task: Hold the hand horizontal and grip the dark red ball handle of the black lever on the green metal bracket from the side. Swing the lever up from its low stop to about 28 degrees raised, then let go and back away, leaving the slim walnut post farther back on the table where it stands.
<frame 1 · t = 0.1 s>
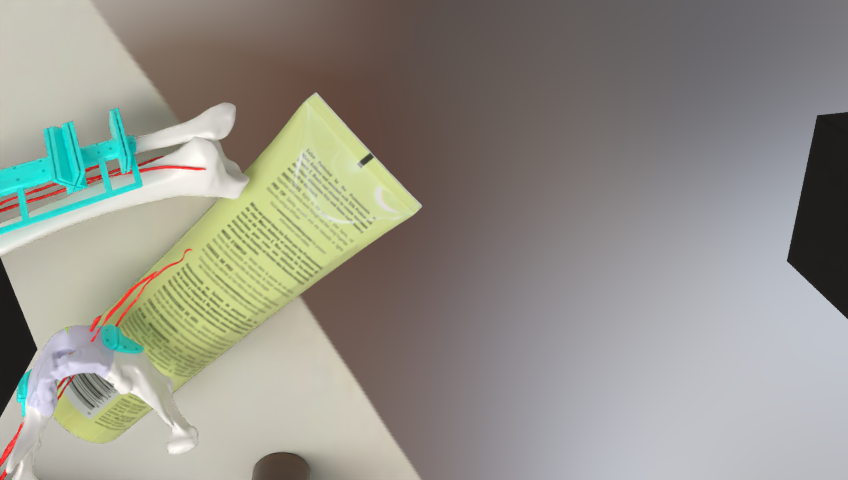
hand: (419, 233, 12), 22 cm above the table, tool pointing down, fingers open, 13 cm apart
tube: (81, 409, 37), point 3 cm above the table, touching bone model
bone model: (25, 308, 36), point 1 cm above the table, touching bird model, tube
walnut post: (281, 473, 45), on the table
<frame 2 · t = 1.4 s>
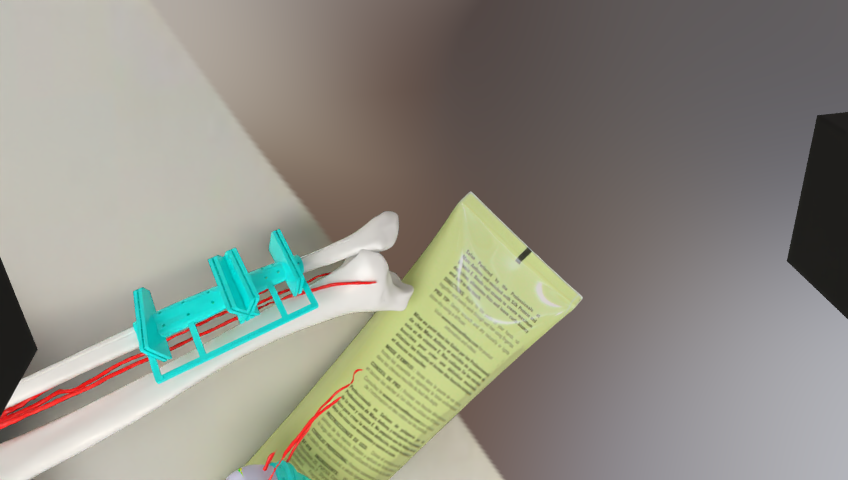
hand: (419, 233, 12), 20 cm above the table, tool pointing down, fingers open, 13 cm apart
bone model: (174, 452, 34), point 1 cm above the table, touching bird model, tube
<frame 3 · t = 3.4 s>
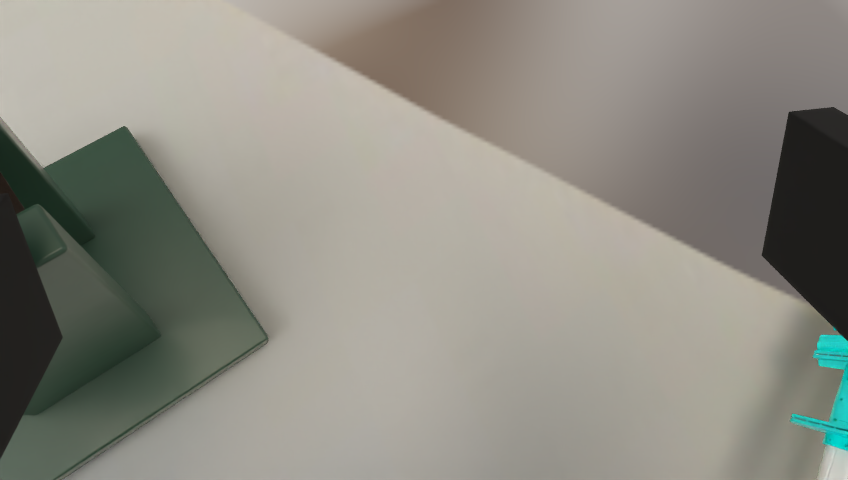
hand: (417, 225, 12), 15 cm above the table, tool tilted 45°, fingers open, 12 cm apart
bracket: (67, 316, 25), on the table
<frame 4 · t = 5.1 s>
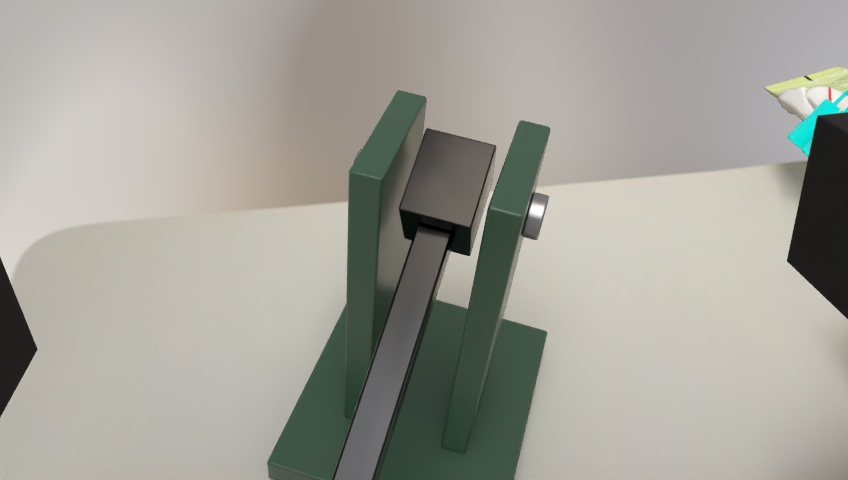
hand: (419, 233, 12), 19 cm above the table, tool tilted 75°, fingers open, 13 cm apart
bracket: (417, 406, 31), on the table
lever: (391, 369, 21), point 10 cm above the table, hinge at -25.0°
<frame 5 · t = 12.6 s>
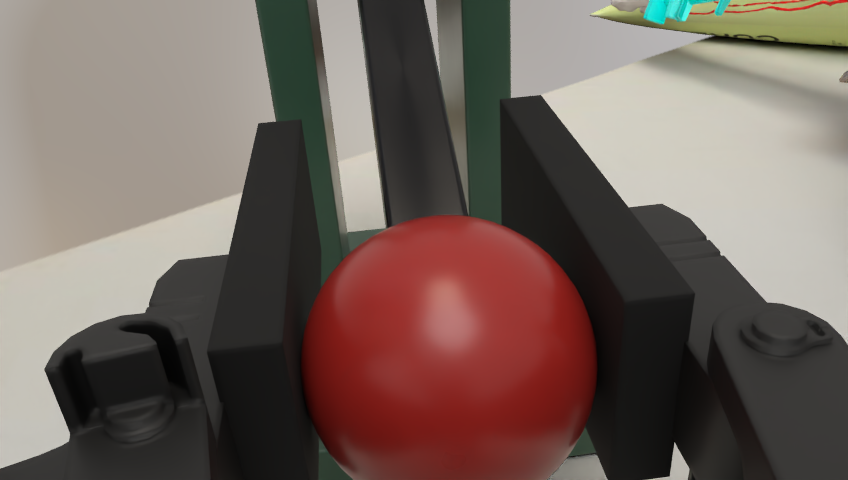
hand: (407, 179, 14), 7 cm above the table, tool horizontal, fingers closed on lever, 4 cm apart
bracket: (411, 344, 21), on the table
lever: (400, 70, 12), point 10 cm above the table, hinge at -25.0°, touching gripper
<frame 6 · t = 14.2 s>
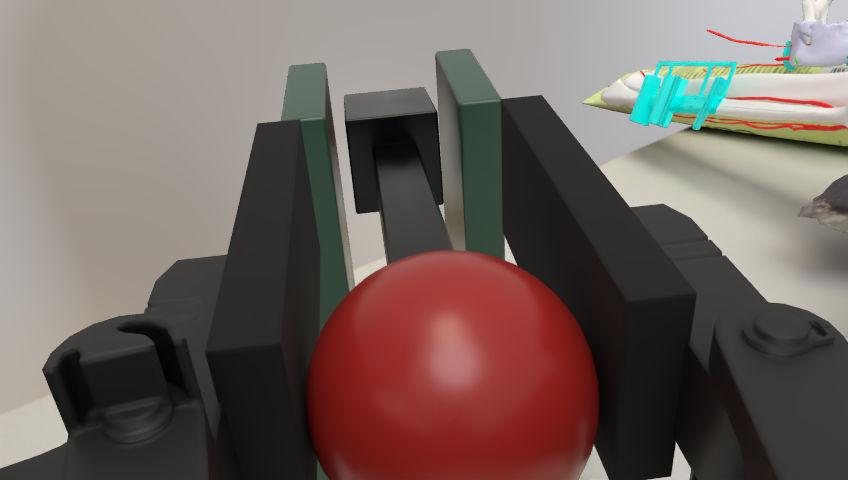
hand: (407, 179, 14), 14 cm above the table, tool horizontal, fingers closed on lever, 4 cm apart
bracket: (422, 476, 25), on the table
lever: (412, 231, 14), point 13 cm above the table, hinge at 6.0°, touching gripper
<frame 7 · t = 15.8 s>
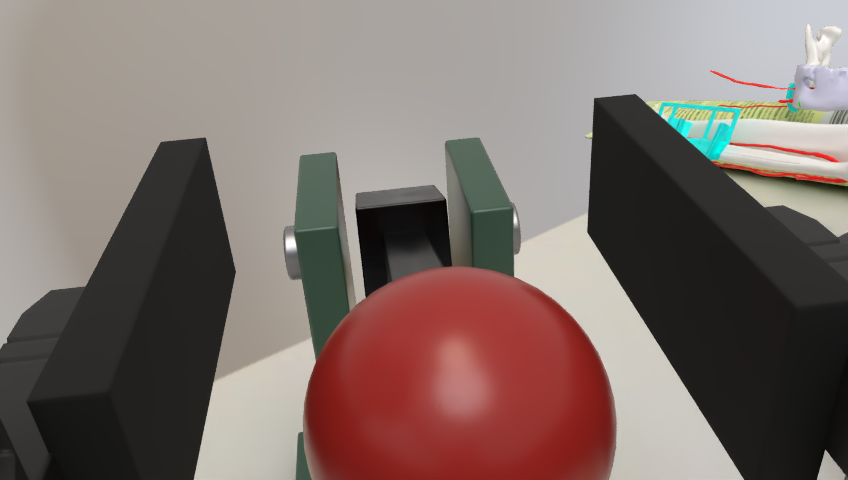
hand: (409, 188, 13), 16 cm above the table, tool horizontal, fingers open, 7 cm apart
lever: (420, 298, 14), point 14 cm above the table, hinge at 18.3°
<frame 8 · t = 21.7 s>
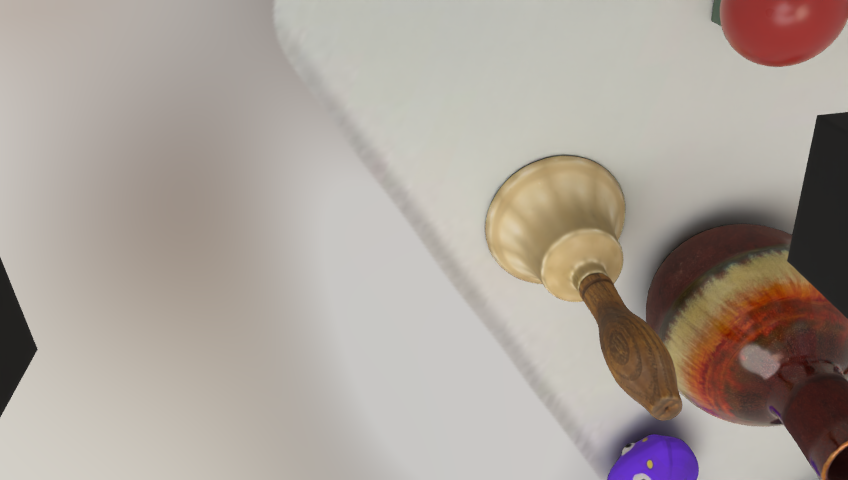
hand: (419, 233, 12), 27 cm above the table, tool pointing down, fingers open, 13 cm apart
vase: (711, 279, 47), on the table
toy: (732, 470, 54), point 1 cm above the table
hand bell: (554, 219, 43), on the table
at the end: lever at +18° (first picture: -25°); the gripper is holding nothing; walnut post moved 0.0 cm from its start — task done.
